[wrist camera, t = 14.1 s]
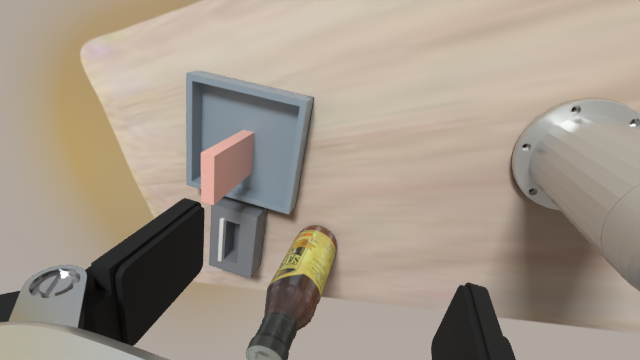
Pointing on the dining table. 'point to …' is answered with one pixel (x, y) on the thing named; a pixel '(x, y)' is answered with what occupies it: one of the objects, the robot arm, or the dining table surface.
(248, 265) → the dispenser
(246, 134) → the ticket
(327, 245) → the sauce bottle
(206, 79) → the tray
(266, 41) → the dining table surface
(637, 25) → the dining table surface
